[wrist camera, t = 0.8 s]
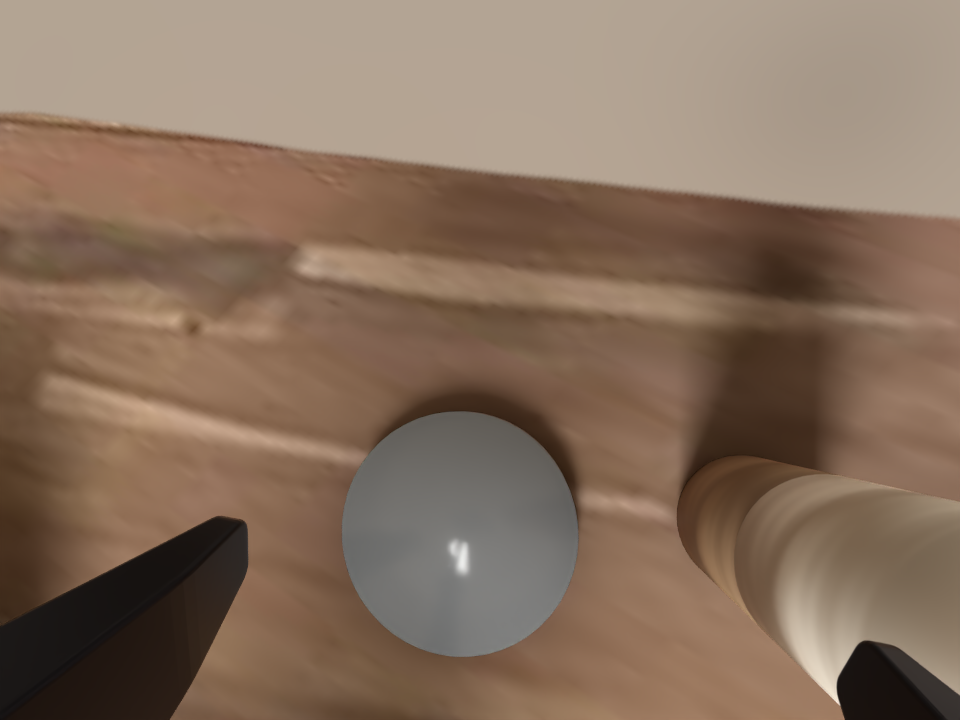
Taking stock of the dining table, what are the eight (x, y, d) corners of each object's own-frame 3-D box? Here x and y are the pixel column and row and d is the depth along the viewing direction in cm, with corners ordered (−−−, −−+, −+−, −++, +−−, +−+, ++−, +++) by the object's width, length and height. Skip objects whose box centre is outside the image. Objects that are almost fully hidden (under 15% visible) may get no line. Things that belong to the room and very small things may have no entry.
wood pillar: (757, 616, 22) (1081, 922, 9) (650, 527, 22) (803, 687, 10) (841, 514, 22) (1288, 669, 9) (731, 428, 22) (994, 455, 10)
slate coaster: (476, 690, 23) (472, 710, 21) (310, 534, 24) (295, 542, 22) (623, 512, 23) (629, 519, 21) (448, 366, 24) (443, 363, 22)
